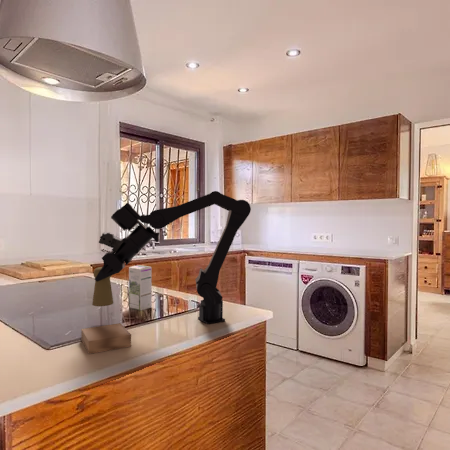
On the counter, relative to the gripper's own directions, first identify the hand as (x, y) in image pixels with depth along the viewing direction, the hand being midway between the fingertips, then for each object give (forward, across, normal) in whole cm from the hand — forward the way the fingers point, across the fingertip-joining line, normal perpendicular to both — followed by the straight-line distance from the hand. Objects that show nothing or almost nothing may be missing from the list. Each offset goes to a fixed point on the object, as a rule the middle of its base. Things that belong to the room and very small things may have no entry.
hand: (98, 278), depth 106 cm
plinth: (+5, +17, +14) cm, 23 cm away
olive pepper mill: (+5, 0, +6) cm, 8 cm away
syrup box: (+2, -16, +17) cm, 23 cm away
